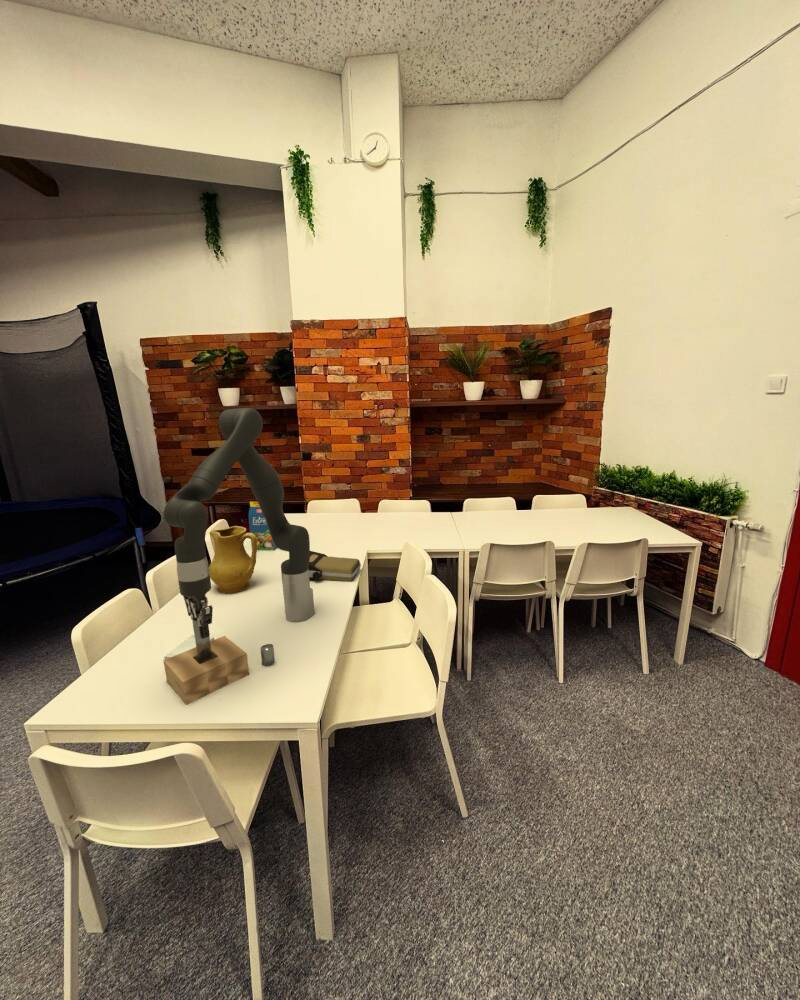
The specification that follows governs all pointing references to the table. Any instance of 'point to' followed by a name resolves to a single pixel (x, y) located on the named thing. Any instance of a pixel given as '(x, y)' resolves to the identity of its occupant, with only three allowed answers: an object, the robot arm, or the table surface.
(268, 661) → the short pin
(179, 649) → the hard drive
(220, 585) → the pitcher
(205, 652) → the long pin
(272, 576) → the table surface
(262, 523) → the blue food package
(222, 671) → the guide block
